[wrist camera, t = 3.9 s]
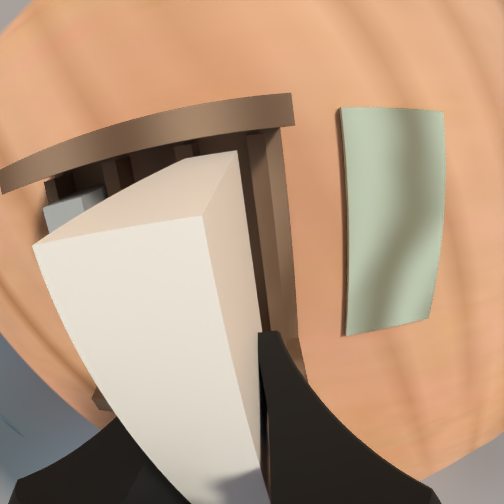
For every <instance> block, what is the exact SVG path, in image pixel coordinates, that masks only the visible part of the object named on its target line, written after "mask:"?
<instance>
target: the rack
mask: <svg viewBox="0 0 504 504" xmlns="http://www.w3.org/2000/svg"><path fill="white" fill-rule="evenodd" d="M339 112H340V121H341V131H342V142H343V154H344V168H345V185H346V208H347V296H346V320H345V334H346V336H349V335H354V334H360V333H365V332H370V331H375V330H380V329H384V328H389V327H394V326H398V325H402V324H407V323H411V322H415V321H419V320H423V319H427V318H429V314H430V310H431V305H432V300H433V295H434V289H435V284H436V278H437V271H438V265H439V258H440V250H441V241H442V231H443V220H444V205H445V176H446V158H445V130H444V116H443V112H441V111H431V110H419V109H404V108H380V107H341V108H339ZM286 126H295V120H294V112H293V105H292V97H291V93H282V94H271V95H261V96H252V97H244V98H236V99H229V100H222V101H216V102H210V103H204V104H199V105H193V106H188V107H183V108H178V109H174V110H169V111H165V112H160V113H156V114H152V115H148V116H144V117H140V118H136V119H133V120H129V121H125V122H122V123H119V124H115V125H112V126H109V127H105V128H102V129H99V130H96V131H93V132H90V133H87V134H84V135H81V136H78V137H76V138H73V139H70V140H67V141H65V142H62V143H59V144H57V145H54V146H52V147H49V148H47V149H44V150H42V151H40V152H37V153H35V154H33V155H30V156H28V157H26V158H24V159H21V160H19V161H17V162H15V163H13V164H11V165H9V166H7V167H5V168H3V169H1V170H0V187H1V192H2V195H3V194H5V193H8V192H10V191H13V190H15V189H18V188H20V187H23V186H25V185H28V184H31V183H33V182H36V181H39V180H42V179H45V178H48V177H50V176H53V175H55V179H52V180H49V181H46V182H44V185H45V189H46V194H47V198H48V202H49V205H50V204H52V203H54V202H56V201H58V200H60V199H62V198H64V197H66V196H68V195H71V194H73V193H75V192H77V191H79V190H82V189H86V188H89V187H93V186H97V185H101V184H106V189H107V193H108V198H109V197H111V196H112V195H114V194H116V193H118V192H120V191H121V190H123V189H125V188H127V187H129V186H131V185H133V184H135V183H136V182H138V181H140V180H142V179H144V178H146V177H148V176H150V175H152V174H154V173H156V172H158V171H160V170H162V169H164V168H166V167H168V166H170V165H172V164H174V163H177V162H179V161H181V160H183V159H185V158H191V157H197V156H203V155H209V154H215V153H222V152H229V151H236V150H237V154H238V161H239V168H240V175H241V183H242V190H243V197H244V204H245V212H246V219H247V226H248V233H249V240H250V248H251V255H252V262H253V269H254V277H255V284H256V291H257V298H258V305H259V313H260V320H261V327H262V332H267V331H275V330H277V331H278V332H280V333H281V337H282V339H283V342H284V344H285V346H286V348H287V350H288V352H289V354H290V356H291V358H292V360H293V361H294V363H295V365H296V366H297V368H298V369H299V371H300V372H301V374H302V375H303V377H304V378H305V380H306V381H307V383H308V379H307V375H306V370H305V365H304V361H303V356H302V352H301V347H300V343H299V338H298V322H297V305H296V290H295V276H294V262H293V250H292V238H291V226H290V215H289V205H288V194H287V185H286V175H285V166H284V157H283V148H282V140H281V131H280V127H286ZM92 400H93V401H94V403H95V404H96V406H97V407H98V408H99V410H105V411H113V409H112V408H111V406H110V405H109V403H108V402H107V400H106V399H105V397H104V396H103V394H102V393H101V391H100V390H99V388H98V386H97V388H96V390H95V392H94V394H93V396H92Z"/></svg>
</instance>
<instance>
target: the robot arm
mask: <svg viewBox="0 0 504 504" xmlns="http://www.w3.org/2000/svg"><path fill="white" fill-rule="evenodd" d="M258 358H259V364H260V371H261V377H262V383H263V389H264V395H265V401H266V407H267V413H268V427H269V451H270V481H271V504H441V502H440V500H439V499H438V497H437V495H436V494H435V492H434V491H433V489H431V488H430V487H428V486H426V485H425V484H423V483H421V482H419V481H417V480H415V479H414V478H412V477H410V476H409V475H407V474H405V473H404V472H402V471H401V470H399V469H398V468H396V467H395V466H393V465H392V464H390V463H389V462H387V461H386V460H385V459H383V458H382V457H380V456H379V455H378V454H377V453H375V452H374V451H373V450H372V449H370V448H369V447H368V446H367V445H366V444H364V443H363V442H362V441H361V440H360V439H358V438H357V437H356V436H355V435H354V434H353V433H352V432H350V431H349V430H348V429H347V428H346V427H345V426H344V425H343V424H342V423H341V422H340V421H339V420H338V419H337V418H336V417H335V416H334V414H333V413H332V412H331V411H330V410H329V409H328V408H327V407H326V406H325V404H324V403H323V402H322V401H321V400H320V398H319V397H318V396H317V395H316V393H315V392H314V391H313V389H312V388H311V387H310V385H309V384H308V383H307V381H306V380H305V378H304V377H303V375H302V374H301V372H300V371H299V369H298V368H297V366H296V365H295V363H294V361H293V360H292V358H291V356H290V354H289V352H288V350H287V348H286V346H285V344H284V342H283V339H282V337H281V333H280V332H278V331H277V330H275V331H267V332H258ZM8 504H191V503H190V502H189V501H188V500H187V499H186V498H185V497H184V496H183V495H182V494H181V493H180V492H179V491H178V490H177V489H176V488H175V487H174V486H173V484H172V483H171V482H170V481H169V480H168V479H167V478H166V477H165V476H164V475H163V474H162V472H161V471H160V470H159V469H158V468H157V467H156V466H155V464H154V463H153V462H152V461H151V460H150V458H149V457H148V456H147V455H146V454H145V452H144V451H143V450H142V449H141V447H140V446H139V445H138V444H137V442H136V441H135V440H134V438H133V437H132V436H131V435H130V433H129V432H128V431H127V429H126V428H125V426H124V425H123V424H122V422H121V421H120V419H119V418H118V417H116V418H115V419H114V420H112V421H111V422H110V423H109V424H108V425H107V426H106V427H105V428H104V429H102V430H101V431H100V432H99V433H98V434H96V435H95V436H94V437H92V438H91V439H90V440H88V441H87V442H86V443H84V444H83V445H82V446H80V447H79V448H78V449H76V450H75V451H73V452H72V453H70V454H68V455H67V456H65V457H64V458H62V459H60V460H59V461H57V462H55V463H53V464H51V465H50V466H48V467H46V468H44V469H42V470H39V471H37V472H35V473H33V474H31V475H28V476H26V477H24V478H21V479H19V480H17V483H16V485H15V488H14V490H13V493H12V495H11V498H10V500H9V503H8Z"/></svg>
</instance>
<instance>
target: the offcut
mask: <svg viewBox="0 0 504 504" xmlns="http://www.w3.org/2000/svg"><path fill="white" fill-rule="evenodd" d="M107 198H108V193H107V189H106V184H101V185H97V186H93V187H89V188H86V189H82V190H79V191H77V192H75V193H73V194H71V195H68V196H66V197H64V198H62V199H60V200H58V201H56V202H54V203H52V204H50V205H48V206H46V207H44V208H43V212H44V216H45V219H46V223H47V226H48V230H49V233H51V232H53V231H54V230H56V229H58V228H59V227H61V226H62V225H64V224H65V223H67V222H69V221H70V220H72V219H73V218H75V217H77V216H78V215H80V214H82V213H83V212H85V211H86V210H88V209H90V208H92V207H93V206H95V205H97V204H98V203H100V202H102V201H104V200H105V199H107Z"/></svg>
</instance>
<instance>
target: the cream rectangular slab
mask: <svg viewBox="0 0 504 504" xmlns="http://www.w3.org/2000/svg"><path fill="white" fill-rule="evenodd" d="M32 247H33V250H34V253H35V256H36V259H37V262H38V264H39V267H40V270H41V273H42V275H43V278H44V280H45V283H46V285H47V288H48V290H49V293H50V295H51V298H52V300H53V302H54V305H55V307H56V309H57V311H58V313H59V316H60V318H61V320H62V322H63V324H64V326H65V328H66V330H67V332H68V334H69V336H70V338H71V340H72V342H73V344H74V346H75V348H76V350H77V352H78V354H79V355H80V357H81V359H82V361H83V363H84V364H85V366H86V368H87V370H88V371H89V373H90V375H91V376H92V378H93V380H94V381H95V383H96V385H97V386H98V388H99V390H100V391H101V393H102V394H103V396H104V397H105V399H106V400H107V402H108V403H109V405H110V406H111V408H112V409H113V411H114V412H115V414H116V415H117V417H118V418H119V419H120V421H121V422H122V424H123V425H124V426H125V428H126V429H127V431H128V432H129V433H130V435H131V436H132V437H133V438H134V440H135V441H136V442H137V444H138V445H139V446H140V447H141V449H142V450H143V451H144V452H145V454H146V455H147V456H148V457H149V458H150V460H151V461H152V462H153V463H154V464H155V466H156V467H157V468H158V469H159V470H160V471H161V472H162V474H163V475H164V476H165V477H166V478H167V479H168V480H169V481H170V482H171V483H172V484H173V486H174V487H175V488H176V489H177V490H178V491H179V492H180V493H181V494H182V495H183V496H184V497H185V498H186V499H187V500H188V501H189V502H190V503H191V504H271V481H270V451H269V427H268V413H267V407H266V401H265V395H264V389H263V383H262V377H261V371H260V364H259V358H258V332H262V327H261V320H260V313H259V305H258V298H257V291H256V284H255V277H254V269H253V262H252V255H251V248H250V240H249V233H248V226H247V219H246V212H245V204H244V197H243V190H242V183H241V175H240V168H239V161H238V154H237V150H236V151H229V152H222V153H215V154H209V155H203V156H197V157H191V158H185V159H183V160H181V161H179V162H177V163H174V164H172V165H170V166H168V167H166V168H164V169H162V170H160V171H158V172H156V173H154V174H152V175H150V176H148V177H146V178H144V179H142V180H140V181H138V182H136V183H135V184H133V185H131V186H129V187H127V188H125V189H123V190H121V191H120V192H118V193H116V194H114V195H112V196H111V197H109V198H107V199H105V200H104V201H102V202H100V203H98V204H97V205H95V206H93V207H92V208H90V209H88V210H86V211H85V212H83V213H82V214H80V215H78V216H77V217H75V218H73V219H72V220H70V221H69V222H67V223H65V224H64V225H62V226H61V227H59V228H58V229H56V230H54V231H53V232H51V233H50V234H48V235H47V236H45V237H44V238H42V239H41V240H39V241H38V242H37V243H35V244H34V245H32Z"/></svg>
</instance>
